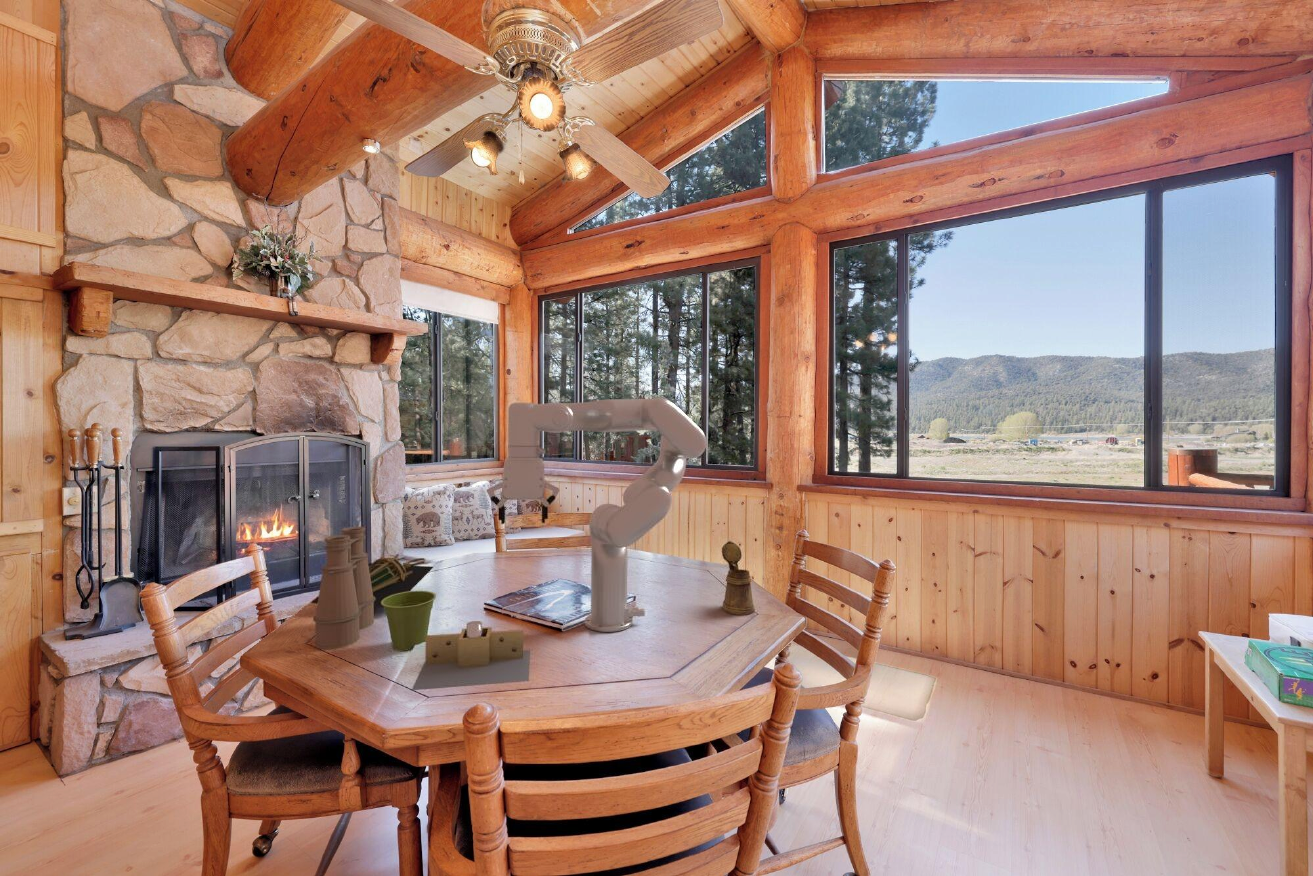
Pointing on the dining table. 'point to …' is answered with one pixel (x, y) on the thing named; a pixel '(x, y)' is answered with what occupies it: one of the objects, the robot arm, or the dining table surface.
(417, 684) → the board
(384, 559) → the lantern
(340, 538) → the binoculars
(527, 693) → the dining table surface
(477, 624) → the pin
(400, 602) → the plant pot
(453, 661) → the hinge
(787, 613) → the dining table surface
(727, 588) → the wooden mug
